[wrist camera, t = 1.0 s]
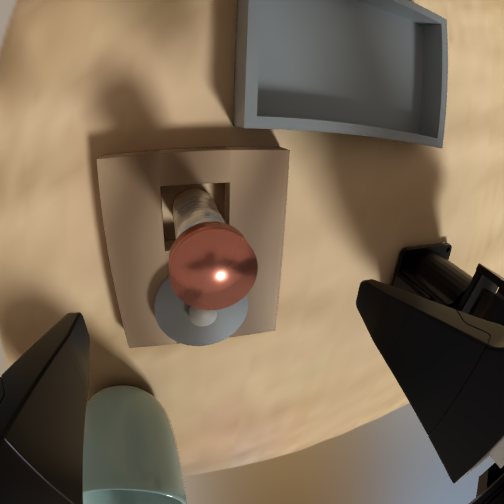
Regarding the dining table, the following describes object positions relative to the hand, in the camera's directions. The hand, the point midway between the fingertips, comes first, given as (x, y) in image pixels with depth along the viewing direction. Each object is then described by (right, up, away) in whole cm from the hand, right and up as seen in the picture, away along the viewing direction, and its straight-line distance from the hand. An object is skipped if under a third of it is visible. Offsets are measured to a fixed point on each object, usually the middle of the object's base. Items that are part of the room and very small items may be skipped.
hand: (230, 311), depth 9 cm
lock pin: (-3, +4, +8) cm, 10 cm away
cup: (-10, -11, +14) cm, 20 cm away
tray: (+6, +13, +7) cm, 16 cm away
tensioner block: (-3, +2, +9) cm, 10 cm away
